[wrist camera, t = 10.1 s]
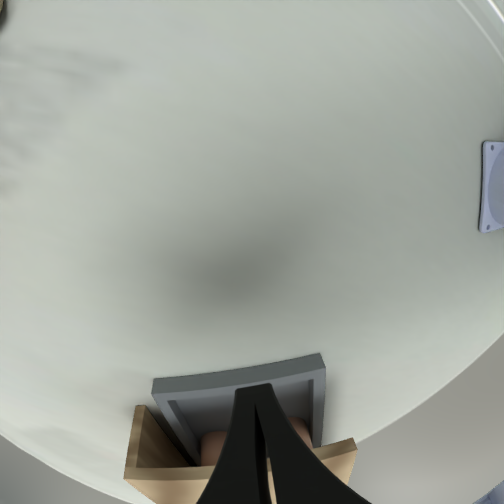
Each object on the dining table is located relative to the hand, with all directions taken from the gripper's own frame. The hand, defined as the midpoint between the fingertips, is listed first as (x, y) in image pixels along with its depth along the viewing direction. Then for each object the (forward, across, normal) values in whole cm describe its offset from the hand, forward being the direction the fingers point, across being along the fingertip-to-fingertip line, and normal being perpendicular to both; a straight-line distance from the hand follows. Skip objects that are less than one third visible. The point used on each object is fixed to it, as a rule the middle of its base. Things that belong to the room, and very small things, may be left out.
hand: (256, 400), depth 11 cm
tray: (+10, +2, +17) cm, 20 cm away
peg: (+10, +6, +18) cm, 22 cm away
